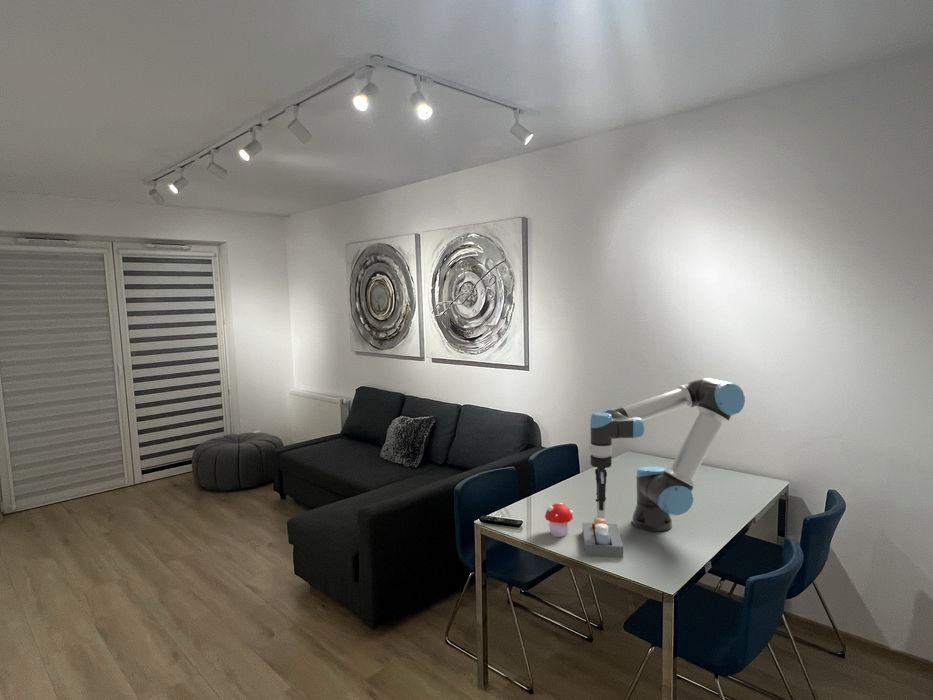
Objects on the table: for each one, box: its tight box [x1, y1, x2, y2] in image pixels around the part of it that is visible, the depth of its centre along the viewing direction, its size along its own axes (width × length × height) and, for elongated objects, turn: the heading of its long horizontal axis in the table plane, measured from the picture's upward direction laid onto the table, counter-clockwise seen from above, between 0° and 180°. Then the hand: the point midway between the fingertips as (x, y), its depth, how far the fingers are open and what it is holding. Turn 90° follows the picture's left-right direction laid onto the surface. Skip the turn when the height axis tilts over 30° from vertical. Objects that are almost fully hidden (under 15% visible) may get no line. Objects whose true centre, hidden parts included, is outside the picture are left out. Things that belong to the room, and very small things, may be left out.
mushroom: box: [544, 502, 574, 538], centre depth 209 cm, size 11×11×12 cm
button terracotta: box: [593, 516, 608, 530], centre depth 206 cm, size 5×5×4 cm
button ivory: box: [595, 524, 608, 537], centre depth 199 cm, size 5×5×4 cm
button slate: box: [596, 531, 610, 545], centre depth 193 cm, size 5×5×4 cm
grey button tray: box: [582, 522, 624, 559], centre depth 199 cm, size 13×20×4 cm, turn 171°
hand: (600, 517), depth 199 cm, fingers closed
